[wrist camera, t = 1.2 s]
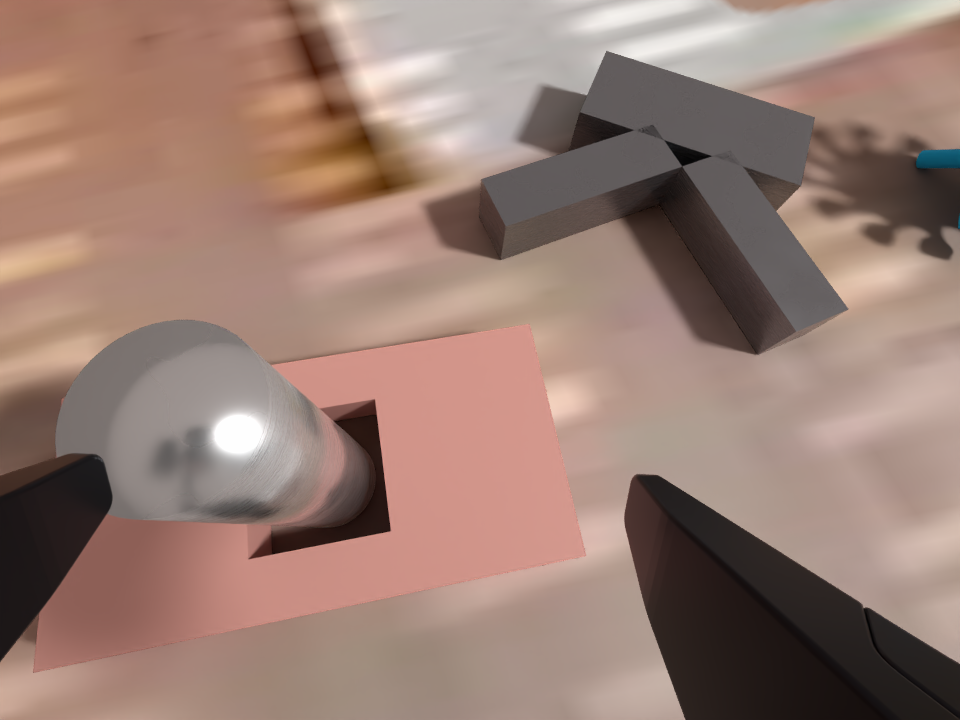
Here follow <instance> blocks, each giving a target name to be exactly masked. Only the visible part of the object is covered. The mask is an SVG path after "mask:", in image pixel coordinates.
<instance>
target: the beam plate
mask: <svg viewBox="0 0 960 720" xmlns="http://www.w3.org/2000/svg"><path fill="white" fill-rule="evenodd" d="M271 366H272V367H273V368H275V369H276V370H277V371H278V372H279V373H280V374H281V375H282V376H283V377H285V378H286V379H287V380H288V381H289V382H290V383H291V384H292V385H294V386H295V387H296V388H297V389H298V390H299V391H300V392H301V393H303V394H304V395H305V396H306V397H307V398H308V399H309V400H310V401H312V402H313V403H314V404H315V405H316V406H317V407H318V408H319V409H320V410H322V411H323V412H324V413H325V414H326V415H327V416H328V417H329V418H331V419H332V420H333V421H340V420H346V419H352V418H357V417H363V416H369V415H375V414H377V419H378V428H379V436H380V444H381V452H382V461H383V469H384V477H385V486H386V494H387V502H388V511H389V519H390V527H391V531H390V532H385V533H380V534H375V535H370V536H365V537H359V538H354V539H349V540H344V541H339V542H334V543H329V544H324V545H319V546H314V547H309V548H304V549H299V550H294V551H289V552H284V553H278V554H273V555H272V538H271V525H248V524H226V523H203V522H180V521H157V520H134V519H126V518H119V517H115V516H112V515H109V514H107V515H106V516H105V518H104V519H103V521H102V522H101V524H100V525H99V527H98V528H97V530H96V531H95V533H94V534H93V536H92V537H91V539H90V541H89V542H88V544H87V545H86V547H85V548H84V550H83V551H82V553H81V554H80V556H79V557H78V559H77V560H76V562H75V563H74V565H73V566H72V568H71V569H70V571H69V572H68V574H67V575H66V577H65V578H64V580H63V581H62V583H61V584H60V586H59V587H58V588H57V590H56V591H55V593H54V594H53V596H52V597H51V598H50V599H49V601H48V602H47V603H46V605H45V606H44V607H43V609H42V610H41V611H40V612H39V621H38V630H37V640H36V649H35V659H34V669H33V673H34V672H39V671H44V670H49V669H53V668H58V667H63V666H68V665H72V664H77V663H82V662H86V661H91V660H96V659H101V658H105V657H110V656H115V655H120V654H124V653H129V652H134V651H138V650H143V649H148V648H153V647H157V646H162V645H167V644H172V643H176V642H181V641H186V640H191V639H195V638H200V637H205V636H209V635H214V634H219V633H224V632H228V631H233V630H238V629H243V628H247V627H252V626H257V625H262V624H266V623H271V622H276V621H280V620H285V619H290V618H295V617H299V616H304V615H309V614H314V613H318V612H323V611H328V610H333V609H337V608H342V607H347V606H351V605H356V604H361V603H366V602H370V601H375V600H380V599H385V598H389V597H394V596H399V595H404V594H408V593H413V592H418V591H422V590H427V589H432V588H437V587H441V586H446V585H451V584H456V583H460V582H465V581H470V580H475V579H479V578H484V577H489V576H493V575H498V574H503V573H508V572H512V571H517V570H522V569H527V568H531V567H536V566H541V565H545V564H550V563H555V562H560V561H564V560H569V559H574V558H579V557H583V556H586V553H585V549H584V545H583V541H582V537H581V532H580V528H579V524H578V520H577V516H576V512H575V508H574V504H573V500H572V496H571V491H570V487H569V483H568V479H567V475H566V471H565V467H564V463H563V459H562V455H561V451H560V446H559V442H558V438H557V434H556V430H555V426H554V422H553V418H552V414H551V410H550V405H549V401H548V397H547V393H546V389H545V385H544V381H543V377H542V373H541V369H540V364H539V360H538V356H537V352H536V348H535V344H534V340H533V336H532V332H531V328H530V324H526V325H520V326H514V327H507V328H501V329H495V330H488V331H482V332H476V333H470V334H463V335H457V336H451V337H444V338H438V339H432V340H425V341H419V342H413V343H407V344H400V345H394V346H388V347H381V348H375V349H369V350H362V351H356V352H350V353H344V354H337V355H331V356H325V357H318V358H312V359H306V360H299V361H293V362H287V363H281V364H274V365H271ZM64 399H65V398H62V401H61V406H62V403H63V401H64ZM56 458H57V455H56Z"/></svg>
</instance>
